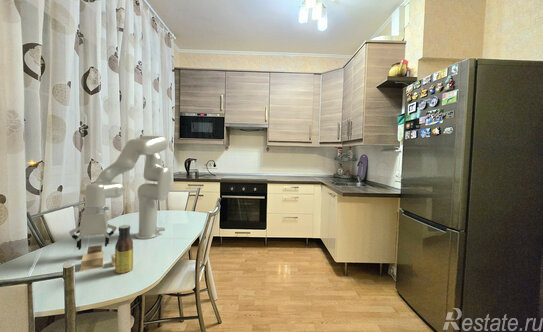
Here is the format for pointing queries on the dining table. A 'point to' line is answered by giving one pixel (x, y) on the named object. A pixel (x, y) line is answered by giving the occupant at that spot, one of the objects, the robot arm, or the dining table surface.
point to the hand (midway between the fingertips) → (93, 247)
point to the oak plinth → (92, 261)
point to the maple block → (113, 260)
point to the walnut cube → (94, 249)
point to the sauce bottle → (124, 251)
